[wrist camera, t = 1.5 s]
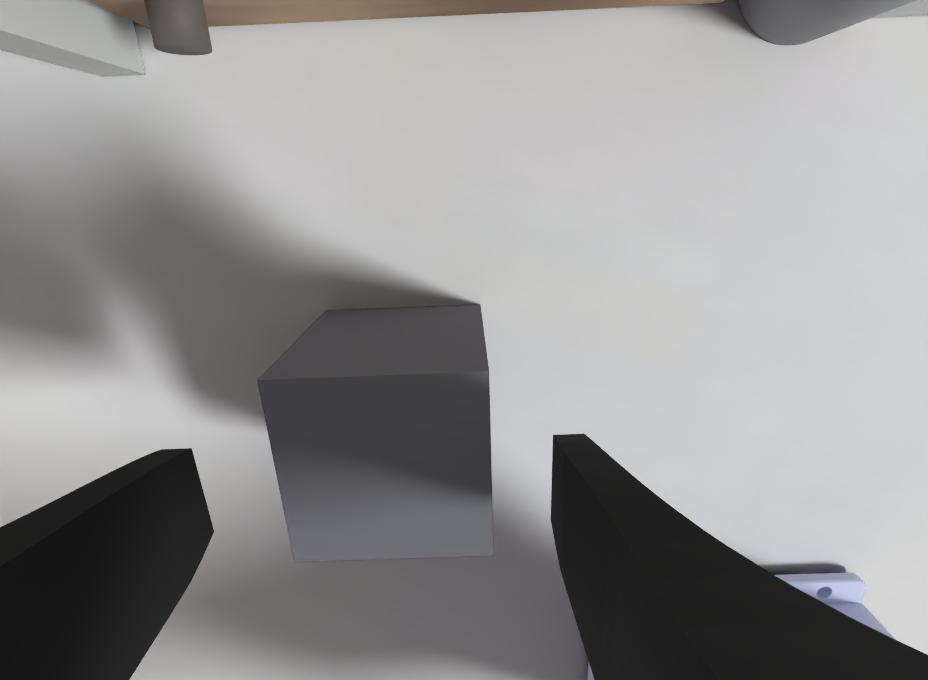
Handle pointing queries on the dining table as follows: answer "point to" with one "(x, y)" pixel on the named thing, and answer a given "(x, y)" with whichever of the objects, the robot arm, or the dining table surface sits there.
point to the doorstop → (384, 435)
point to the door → (317, 13)
